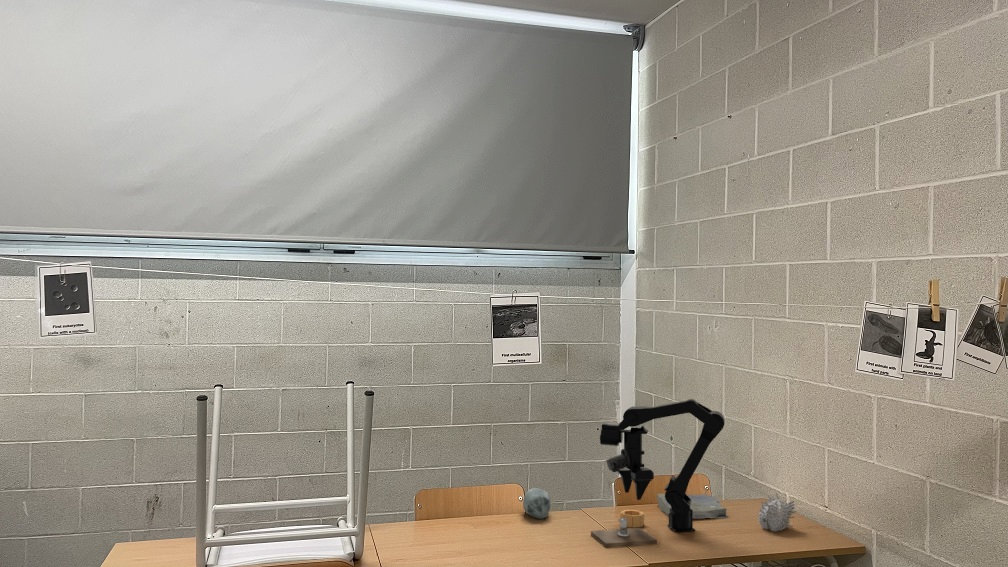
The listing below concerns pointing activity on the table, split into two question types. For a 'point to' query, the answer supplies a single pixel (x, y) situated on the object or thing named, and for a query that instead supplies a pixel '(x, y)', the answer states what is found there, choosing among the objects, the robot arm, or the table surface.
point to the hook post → (623, 528)
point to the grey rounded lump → (537, 503)
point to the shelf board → (623, 538)
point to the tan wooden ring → (633, 518)
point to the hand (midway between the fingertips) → (632, 496)
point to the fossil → (697, 506)
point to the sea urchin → (775, 514)
